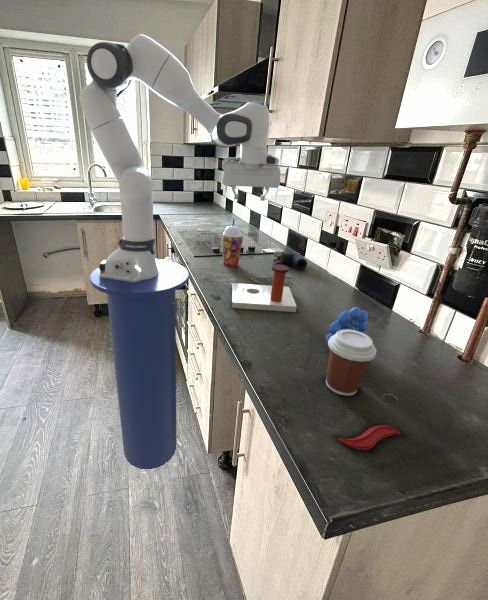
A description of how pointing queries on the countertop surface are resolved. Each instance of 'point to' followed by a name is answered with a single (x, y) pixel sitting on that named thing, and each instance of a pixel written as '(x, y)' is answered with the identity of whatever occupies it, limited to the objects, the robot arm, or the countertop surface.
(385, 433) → the cayenne pepper
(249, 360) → the countertop surface
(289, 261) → the pipe connector
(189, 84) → the robot arm
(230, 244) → the smoothie
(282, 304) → the sink floor
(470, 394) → the countertop surface
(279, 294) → the stopper
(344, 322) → the grapes
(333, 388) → the coffee cup
